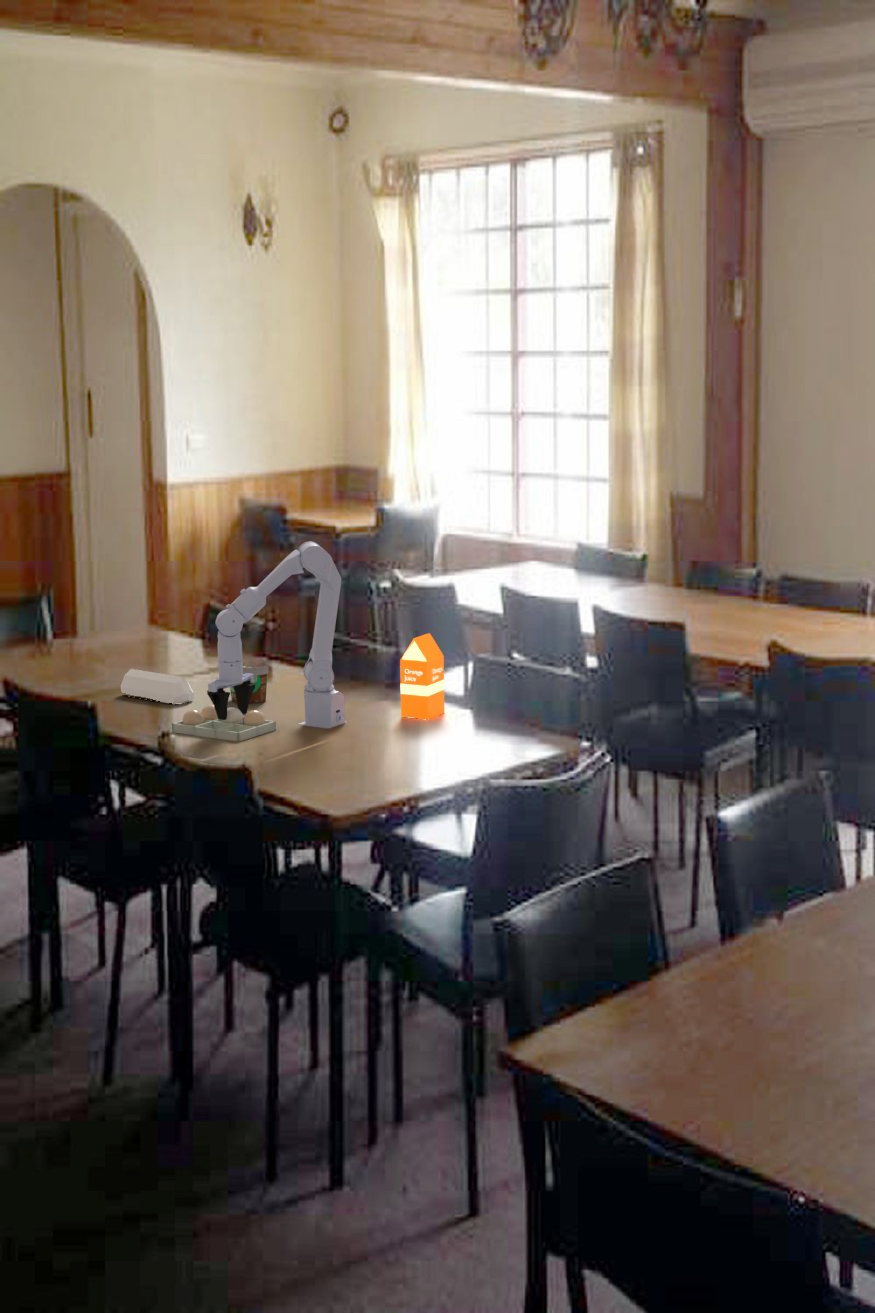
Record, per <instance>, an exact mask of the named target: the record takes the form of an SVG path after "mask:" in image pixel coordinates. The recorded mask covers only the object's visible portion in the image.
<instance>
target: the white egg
mask: <svg viewBox="0 0 875 1313" xmlns="http://www.w3.org/2000/svg"><path fill="white" fill-rule="evenodd" d="M243 717H244V715H242V712H241V711H240V710H239V709H238V707H234V706H232V707H227V719H226V720H222V721H223V722H227V723H238V722H241V721H242V720H243Z"/></svg>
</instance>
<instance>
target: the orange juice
mask: <svg viewBox="0 0 875 1313" xmlns="http://www.w3.org/2000/svg"><path fill="white" fill-rule="evenodd" d="M444 657H445V656H444V654H443V652H442V651H441V649H440V648H439V646H438V644H437V642H436V641H435V639H434V638H433V636H432V635H431V633H430V632H429V633H425V634H423V635H420V636H417V637H414V638H413V639H412V641H411V643H410V644H409V646H408V647H407V649H406V651H405V652H404V654H403V655H402V657H401V658H400V660H399V668H400V670H399V671H400V673H399V674H400V675H399V676H400V685H399V686H400V689H399V690H400V717H414V718H420V719H426V720H425V721H430V720H432V719H434V718H433V717H435V718H437V717H439V716H441V715H444V714H445V671H444V670H445V669H444V666H445V665H444V662H445V660H444ZM443 713H444V714H443ZM440 714H441V715H440ZM431 718H432V719H431ZM420 719H419V720H420ZM429 719H430V720H429Z"/></svg>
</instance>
